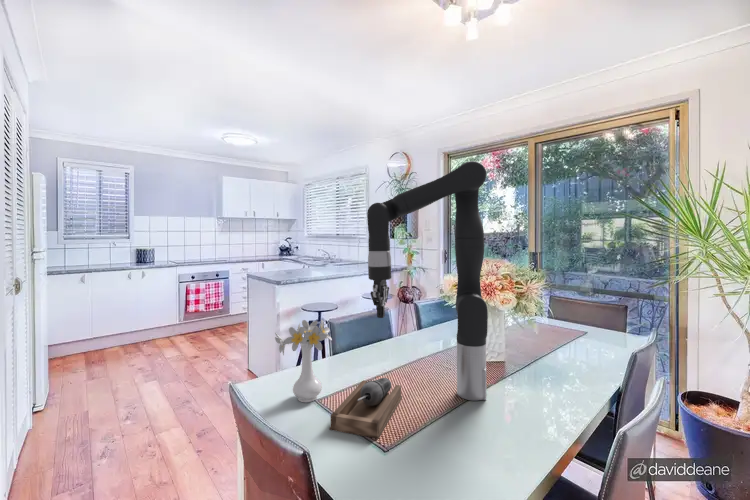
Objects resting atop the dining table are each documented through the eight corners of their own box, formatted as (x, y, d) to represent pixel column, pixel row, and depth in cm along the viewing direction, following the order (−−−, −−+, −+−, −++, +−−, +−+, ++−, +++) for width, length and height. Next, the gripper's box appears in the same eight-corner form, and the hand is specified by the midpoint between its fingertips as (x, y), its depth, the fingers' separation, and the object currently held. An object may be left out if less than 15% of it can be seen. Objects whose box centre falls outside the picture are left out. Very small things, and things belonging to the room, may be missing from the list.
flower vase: (270, 401, 110) (268, 323, 109) (320, 384, 122) (318, 314, 121) (289, 417, 100) (287, 331, 100) (341, 397, 112) (340, 321, 112)
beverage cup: (396, 395, 114) (374, 413, 96) (376, 396, 117) (351, 414, 98) (393, 372, 116) (371, 386, 97) (373, 374, 118) (348, 387, 100)
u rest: (402, 397, 111) (402, 385, 111) (378, 438, 89) (378, 423, 89) (361, 392, 116) (361, 380, 116) (329, 429, 93) (329, 415, 93)
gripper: (384, 266, 105) (385, 322, 106) (396, 263, 118) (397, 313, 118) (361, 266, 108) (363, 321, 108) (375, 263, 120) (376, 312, 121)
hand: (380, 317), depth 113 cm, fingers closed
